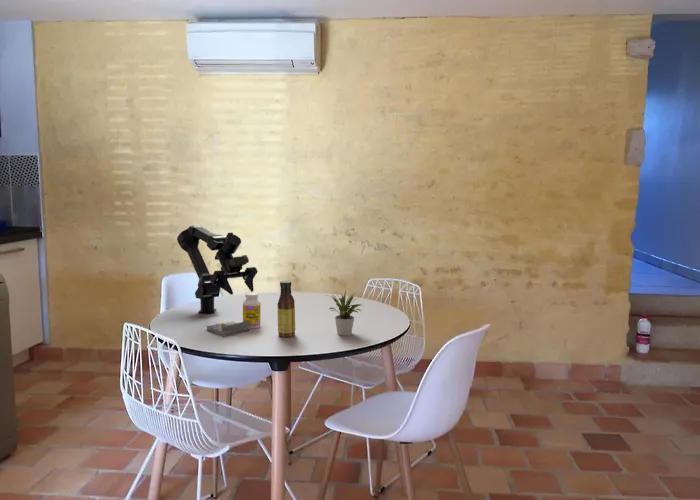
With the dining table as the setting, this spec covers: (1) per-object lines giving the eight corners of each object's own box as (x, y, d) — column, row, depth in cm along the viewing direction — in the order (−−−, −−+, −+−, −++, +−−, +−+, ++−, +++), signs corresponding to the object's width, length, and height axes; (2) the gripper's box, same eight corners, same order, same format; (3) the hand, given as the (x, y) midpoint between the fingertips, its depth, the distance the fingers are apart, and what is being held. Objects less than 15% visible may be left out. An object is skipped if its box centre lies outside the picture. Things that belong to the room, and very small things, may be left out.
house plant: (327, 340, 190) (327, 294, 188) (318, 330, 203) (318, 287, 201) (365, 338, 194) (366, 293, 192) (354, 328, 207) (355, 286, 205)
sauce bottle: (286, 332, 200) (287, 279, 198) (298, 335, 196) (299, 281, 194) (273, 335, 195) (273, 281, 193) (285, 338, 191) (286, 283, 189)
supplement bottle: (243, 329, 203) (243, 295, 201) (242, 325, 209) (242, 292, 207) (261, 328, 204) (261, 295, 203) (259, 324, 211) (259, 291, 209)
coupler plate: (207, 330, 201) (206, 320, 200) (232, 325, 208) (232, 316, 208) (223, 336, 193) (223, 326, 193) (249, 330, 201) (249, 321, 200)
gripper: (213, 250, 205) (229, 282, 199) (255, 247, 218) (271, 277, 211) (203, 268, 212) (218, 300, 205) (244, 264, 225) (259, 294, 218)
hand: (242, 292), depth 210 cm, fingers open, 9 cm apart
